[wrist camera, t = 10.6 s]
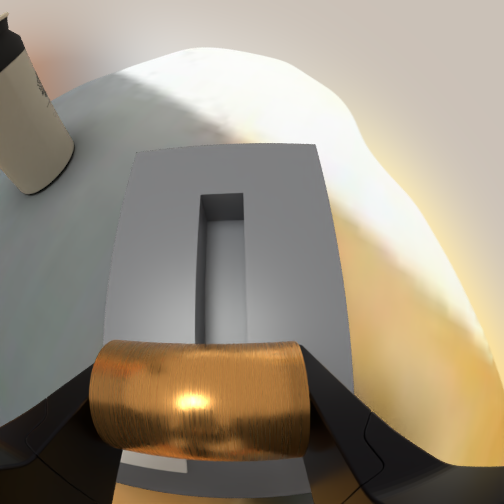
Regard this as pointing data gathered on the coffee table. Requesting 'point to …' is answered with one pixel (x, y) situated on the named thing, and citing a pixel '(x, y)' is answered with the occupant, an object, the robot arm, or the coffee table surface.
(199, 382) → the lever handle
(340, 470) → the robot arm
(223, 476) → the block
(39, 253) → the coffee table surface
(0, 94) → the travel mug
